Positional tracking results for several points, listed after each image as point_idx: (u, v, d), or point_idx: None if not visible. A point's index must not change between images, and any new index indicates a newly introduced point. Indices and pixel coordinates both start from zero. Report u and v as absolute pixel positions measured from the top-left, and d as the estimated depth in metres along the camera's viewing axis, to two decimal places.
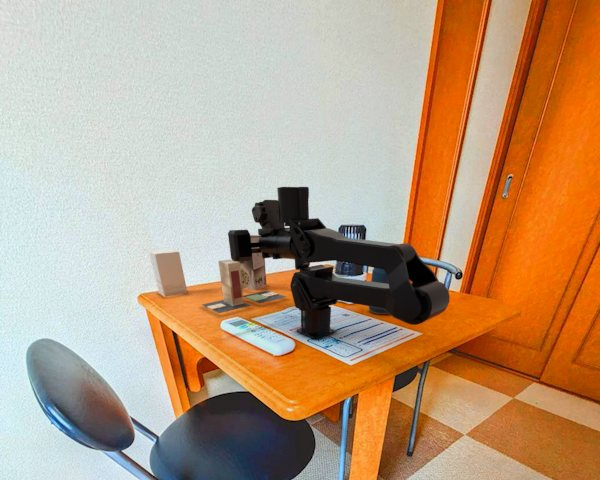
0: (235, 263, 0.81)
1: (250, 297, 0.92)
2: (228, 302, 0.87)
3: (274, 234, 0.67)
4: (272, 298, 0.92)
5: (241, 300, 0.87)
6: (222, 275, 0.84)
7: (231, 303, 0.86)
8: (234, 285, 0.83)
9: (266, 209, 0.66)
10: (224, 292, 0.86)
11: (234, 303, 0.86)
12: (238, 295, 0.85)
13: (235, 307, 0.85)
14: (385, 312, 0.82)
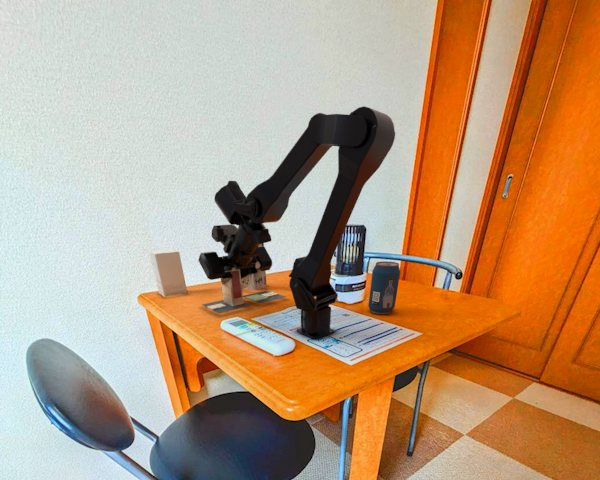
0: None
1: (250, 297, 0.92)
2: (228, 302, 0.87)
3: (233, 237, 0.73)
4: (272, 298, 0.92)
5: (241, 300, 0.87)
6: None
7: (231, 303, 0.86)
8: (234, 285, 0.83)
9: (222, 229, 0.75)
10: (224, 292, 0.86)
11: (234, 303, 0.86)
12: (238, 295, 0.85)
13: (235, 307, 0.85)
14: (385, 312, 0.82)
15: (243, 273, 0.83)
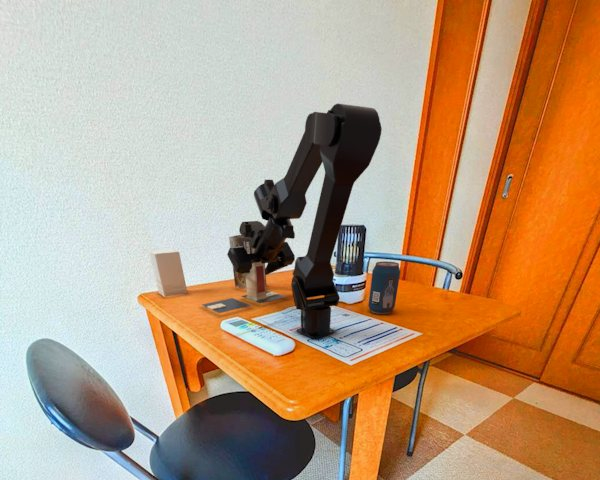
0: None
1: None
2: (252, 296, 0.91)
3: (261, 233, 0.77)
4: (272, 298, 0.92)
5: (264, 294, 0.91)
6: None
7: (255, 297, 0.90)
8: (259, 280, 0.88)
9: None
10: (248, 286, 0.91)
11: (258, 297, 0.90)
12: (262, 289, 0.89)
13: (235, 307, 0.85)
14: (385, 312, 0.82)
15: (274, 266, 0.89)
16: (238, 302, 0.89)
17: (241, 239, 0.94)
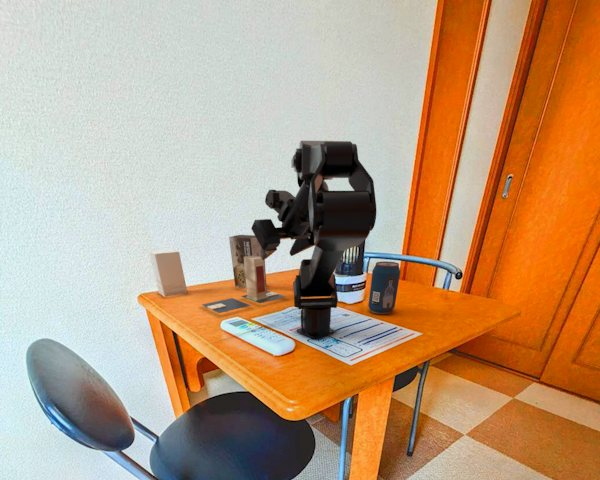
0: (260, 259, 0.85)
1: None
2: (252, 296, 0.91)
3: (291, 202, 0.66)
4: (272, 298, 0.92)
5: (264, 294, 0.91)
6: (247, 270, 0.88)
7: (255, 297, 0.90)
8: (259, 280, 0.88)
9: None
10: (248, 286, 0.91)
11: (258, 297, 0.90)
12: (262, 289, 0.89)
13: (235, 307, 0.85)
14: (385, 312, 0.82)
15: (302, 245, 0.78)
16: (238, 302, 0.89)
17: (241, 239, 0.94)
